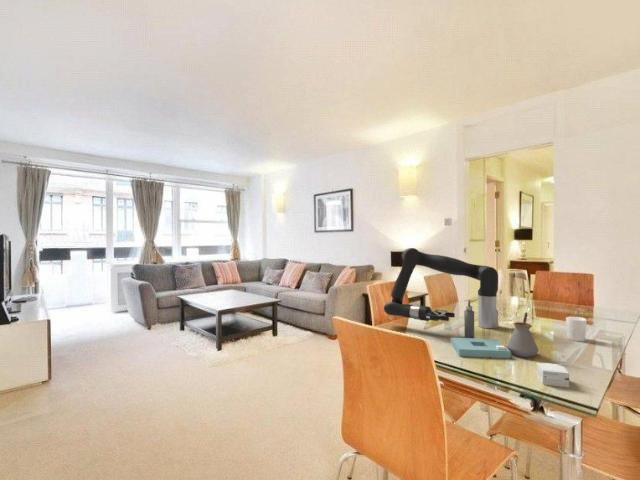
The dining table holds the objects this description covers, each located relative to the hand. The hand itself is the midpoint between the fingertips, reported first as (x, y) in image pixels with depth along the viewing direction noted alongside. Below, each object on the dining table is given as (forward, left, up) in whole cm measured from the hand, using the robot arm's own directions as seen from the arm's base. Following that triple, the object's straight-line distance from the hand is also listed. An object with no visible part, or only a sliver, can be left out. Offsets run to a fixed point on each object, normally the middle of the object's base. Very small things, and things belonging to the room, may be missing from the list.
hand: (451, 317), depth 167 cm
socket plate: (-7, +19, -10) cm, 23 cm away
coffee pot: (-26, +17, -10) cm, 33 cm away
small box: (-23, +48, -10) cm, 54 cm away
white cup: (-57, -3, -10) cm, 58 cm away
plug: (-7, +4, -10) cm, 13 cm away
